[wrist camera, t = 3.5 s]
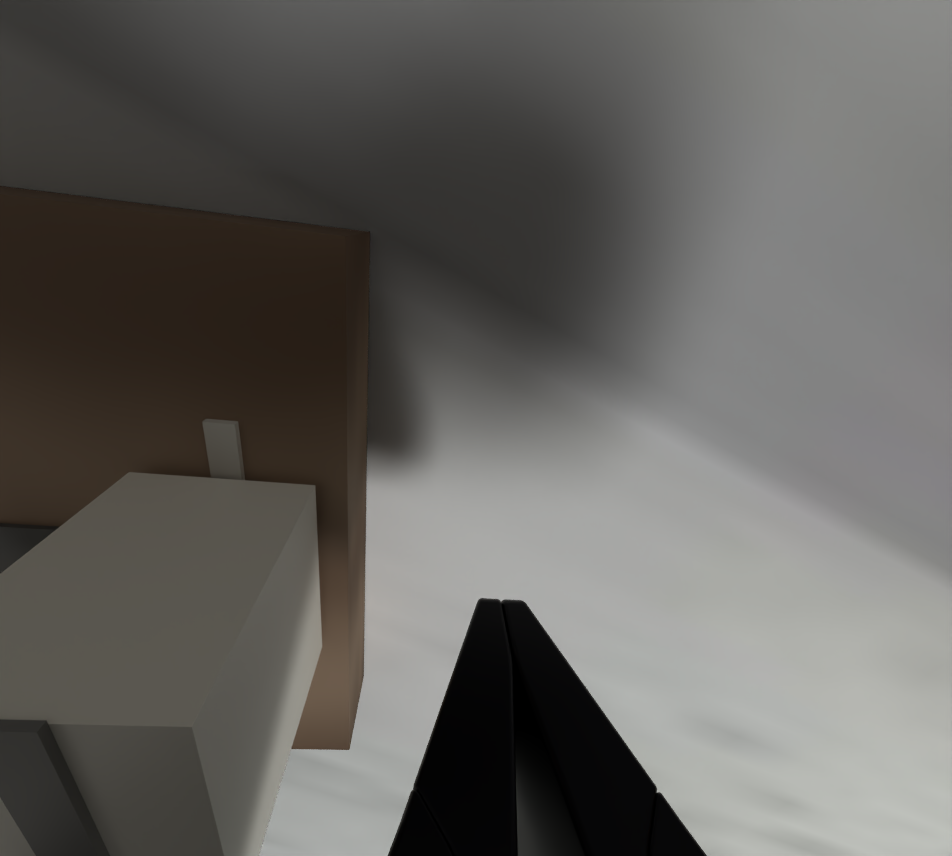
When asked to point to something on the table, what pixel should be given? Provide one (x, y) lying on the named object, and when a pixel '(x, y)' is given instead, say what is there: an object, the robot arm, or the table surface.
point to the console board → (190, 381)
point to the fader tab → (157, 669)
